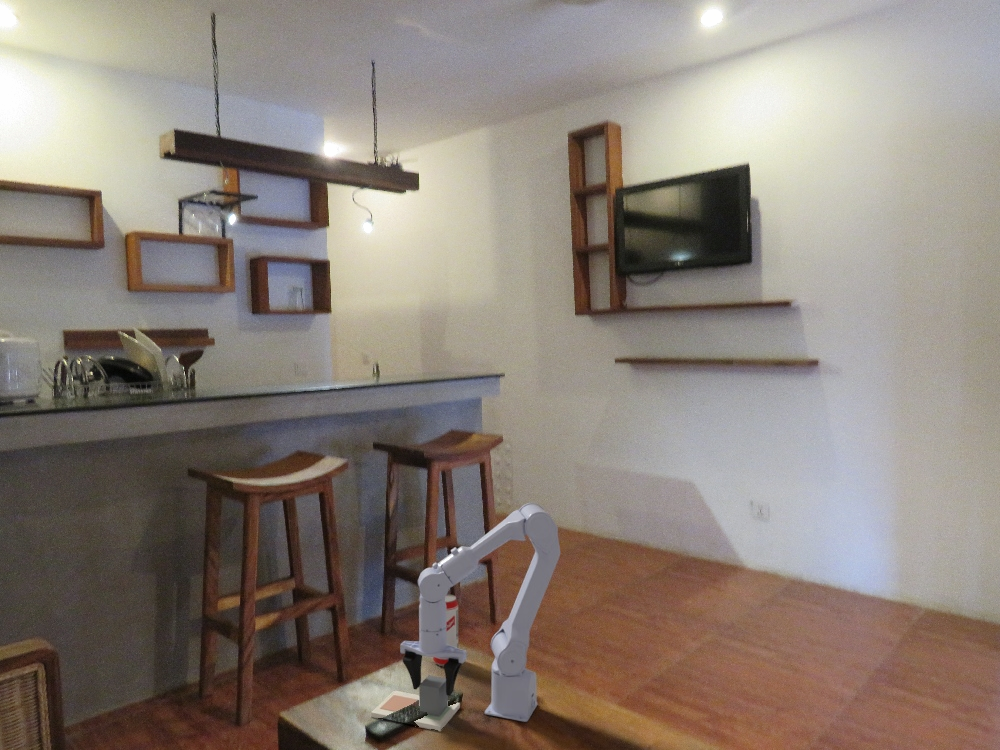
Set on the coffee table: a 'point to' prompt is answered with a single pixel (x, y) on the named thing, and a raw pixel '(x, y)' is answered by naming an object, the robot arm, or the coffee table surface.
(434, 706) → the block
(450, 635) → the beer can
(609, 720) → the coffee table surface
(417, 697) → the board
